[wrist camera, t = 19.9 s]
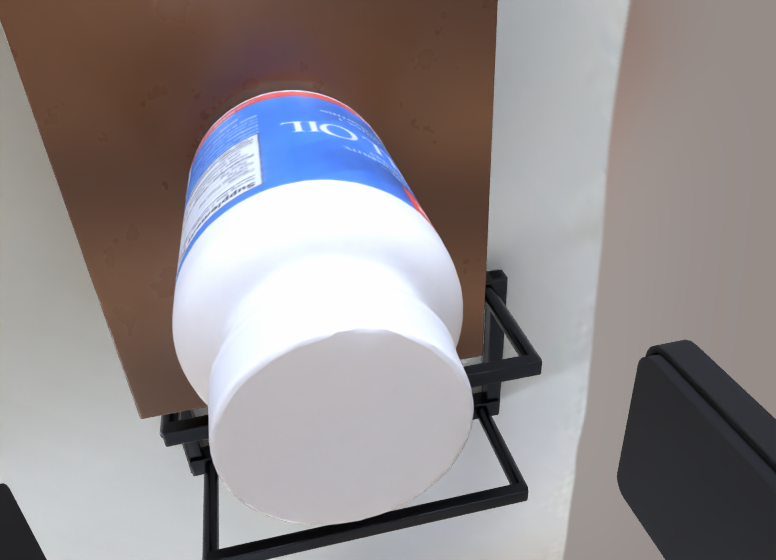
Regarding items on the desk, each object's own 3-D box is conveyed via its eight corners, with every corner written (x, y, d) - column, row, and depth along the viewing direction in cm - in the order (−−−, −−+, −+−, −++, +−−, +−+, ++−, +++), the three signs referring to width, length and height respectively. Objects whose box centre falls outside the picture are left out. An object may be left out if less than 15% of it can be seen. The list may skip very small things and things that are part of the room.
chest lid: (476, 343, 23) (483, 356, 23) (142, 405, 21) (140, 419, 21) (492, -120, 16) (503, -120, 15) (-28, -89, 14) (-39, -87, 13)
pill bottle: (426, 164, 18) (592, 394, 10) (308, 298, 20) (373, 590, 12) (268, 36, 16) (325, 210, 8) (145, 201, 17) (82, 496, 9)
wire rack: (494, 402, 36) (545, 499, 31) (191, 462, 34) (187, 580, 28) (501, 269, 32) (563, 354, 26) (150, 326, 29) (134, 436, 23)
